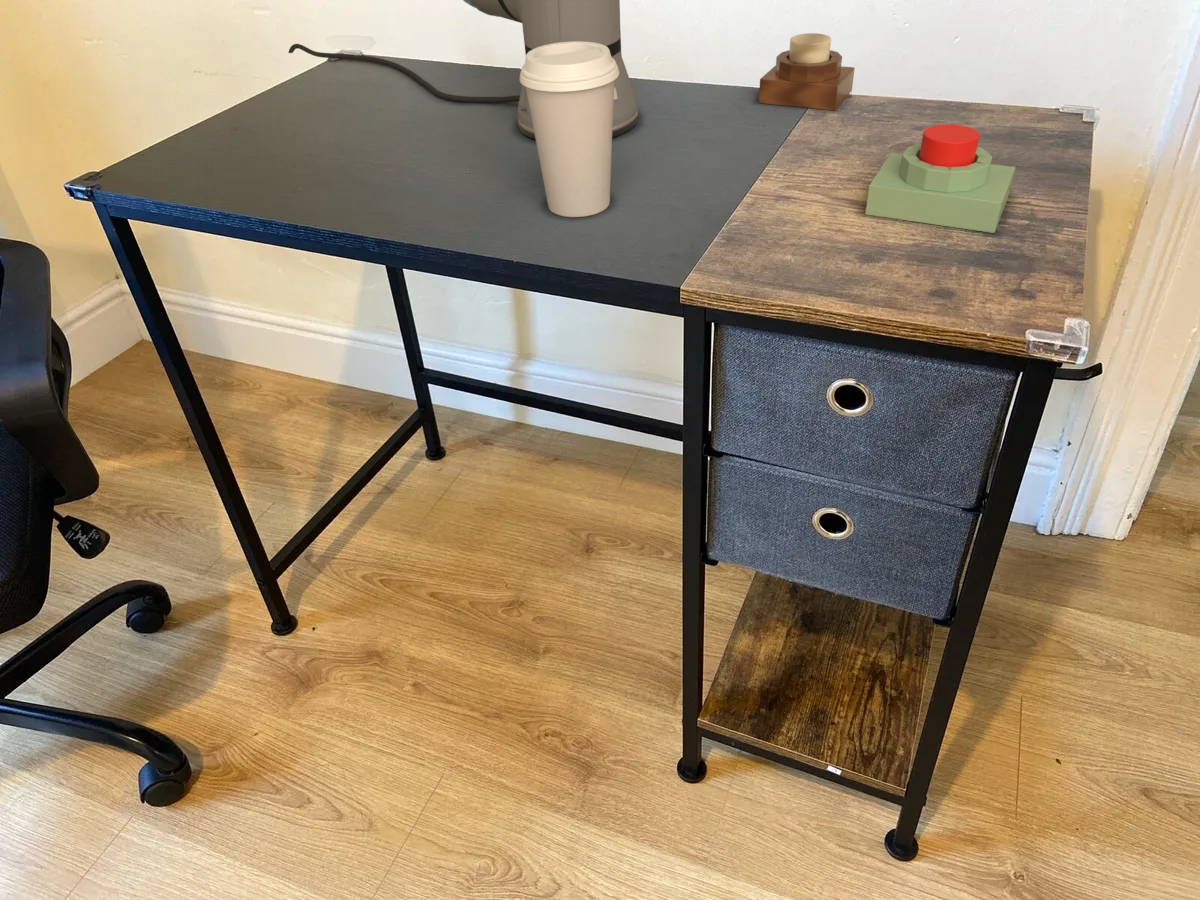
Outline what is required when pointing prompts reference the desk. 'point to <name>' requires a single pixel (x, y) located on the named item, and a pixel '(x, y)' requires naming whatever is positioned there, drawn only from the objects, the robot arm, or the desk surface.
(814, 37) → the far button
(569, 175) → the coffee cup
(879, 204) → the sage console
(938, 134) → the near button
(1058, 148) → the desk surface
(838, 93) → the wooden square base
